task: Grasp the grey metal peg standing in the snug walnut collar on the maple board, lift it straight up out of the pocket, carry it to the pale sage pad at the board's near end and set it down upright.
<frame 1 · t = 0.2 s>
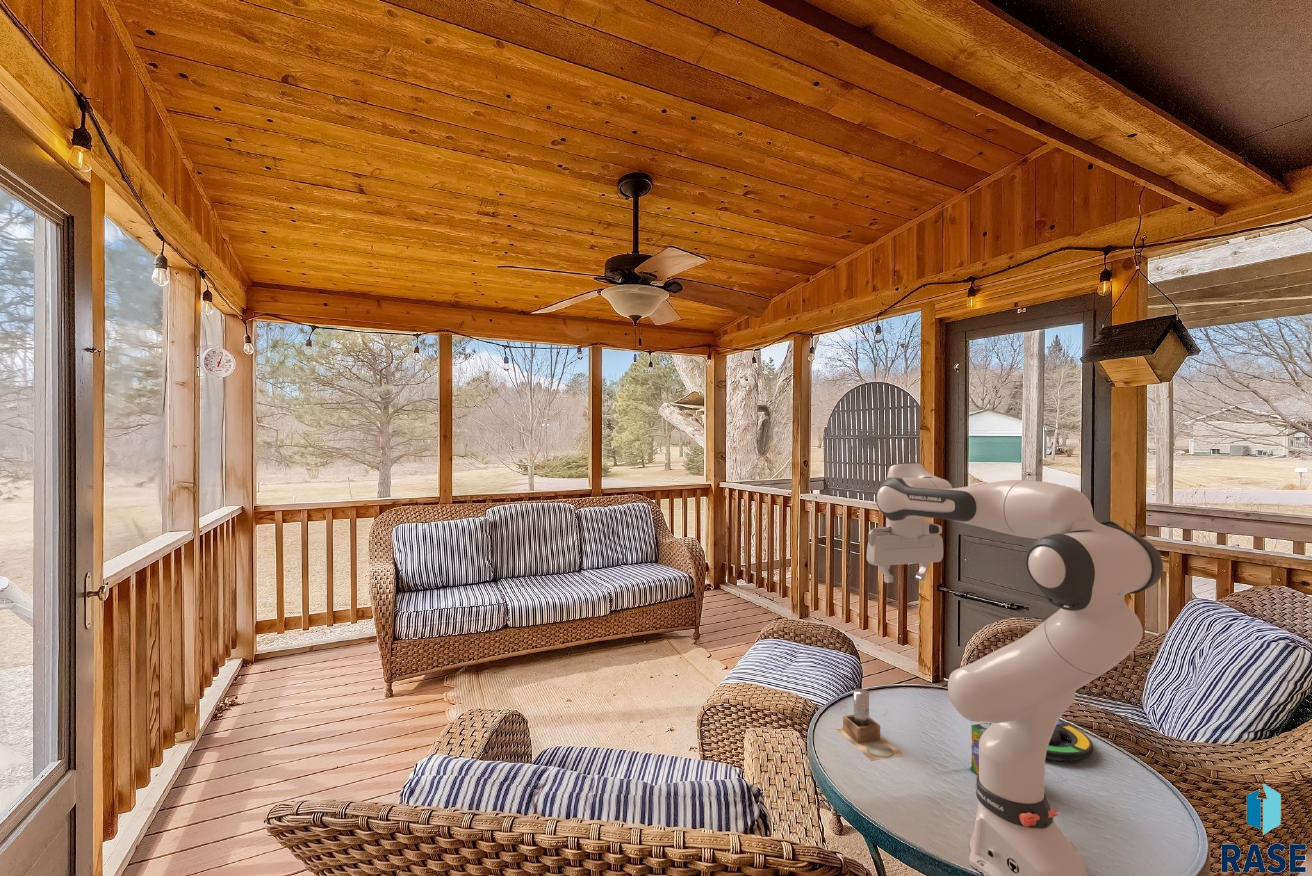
hand: (904, 581, 143), 47 cm above the table, fingers open, 8 cm apart
electronic game: (1040, 743, 155), on the table
peg: (861, 734, 157), point 1 cm above the table, touching pocket board
pocket board: (869, 745, 153), on the table
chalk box: (1000, 779, 139), on the table
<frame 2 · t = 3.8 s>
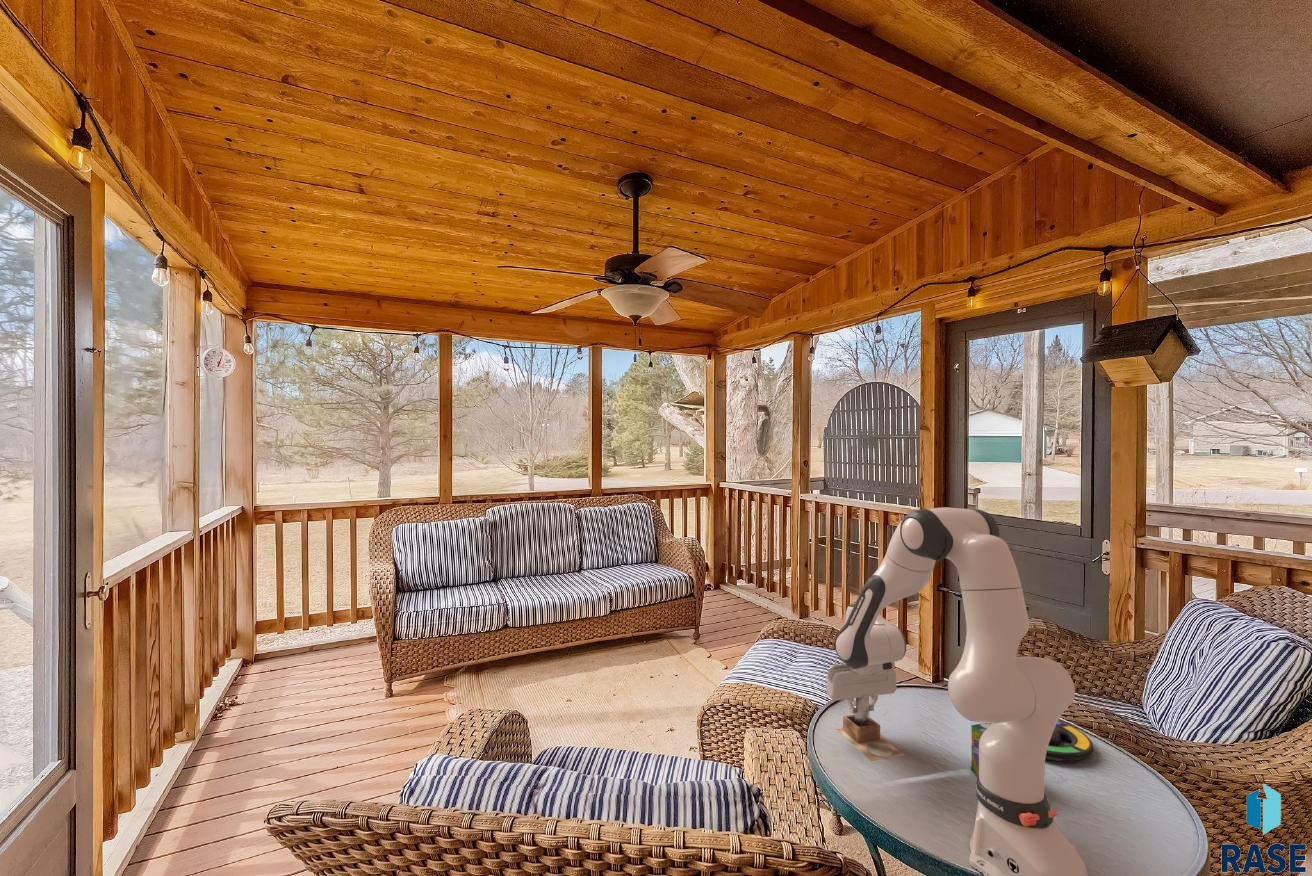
hand: (861, 711, 157), 8 cm above the table, fingers closed on peg, 4 cm apart
peg: (861, 734, 157), point 1 cm above the table, touching gripper, pocket board
everything else where it was.
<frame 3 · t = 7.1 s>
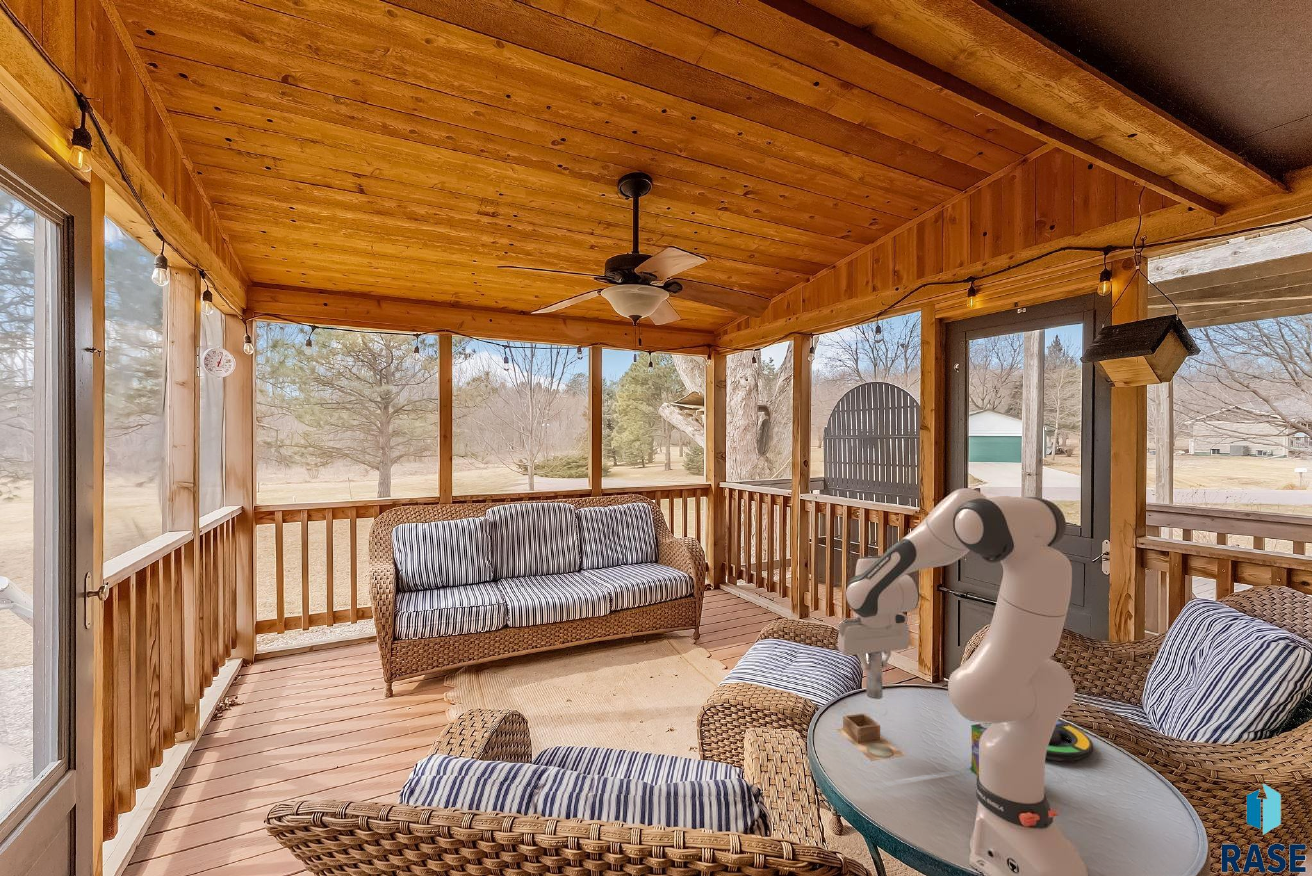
hand: (874, 667, 151), 22 cm above the table, fingers closed on peg, 4 cm apart
peg: (874, 695, 151), point 14 cm above the table, touching gripper
everything else where it was.
when the fingers open (9 cm above the table, at t = 10.5 s): peg stays where it is, resting on pocket board.
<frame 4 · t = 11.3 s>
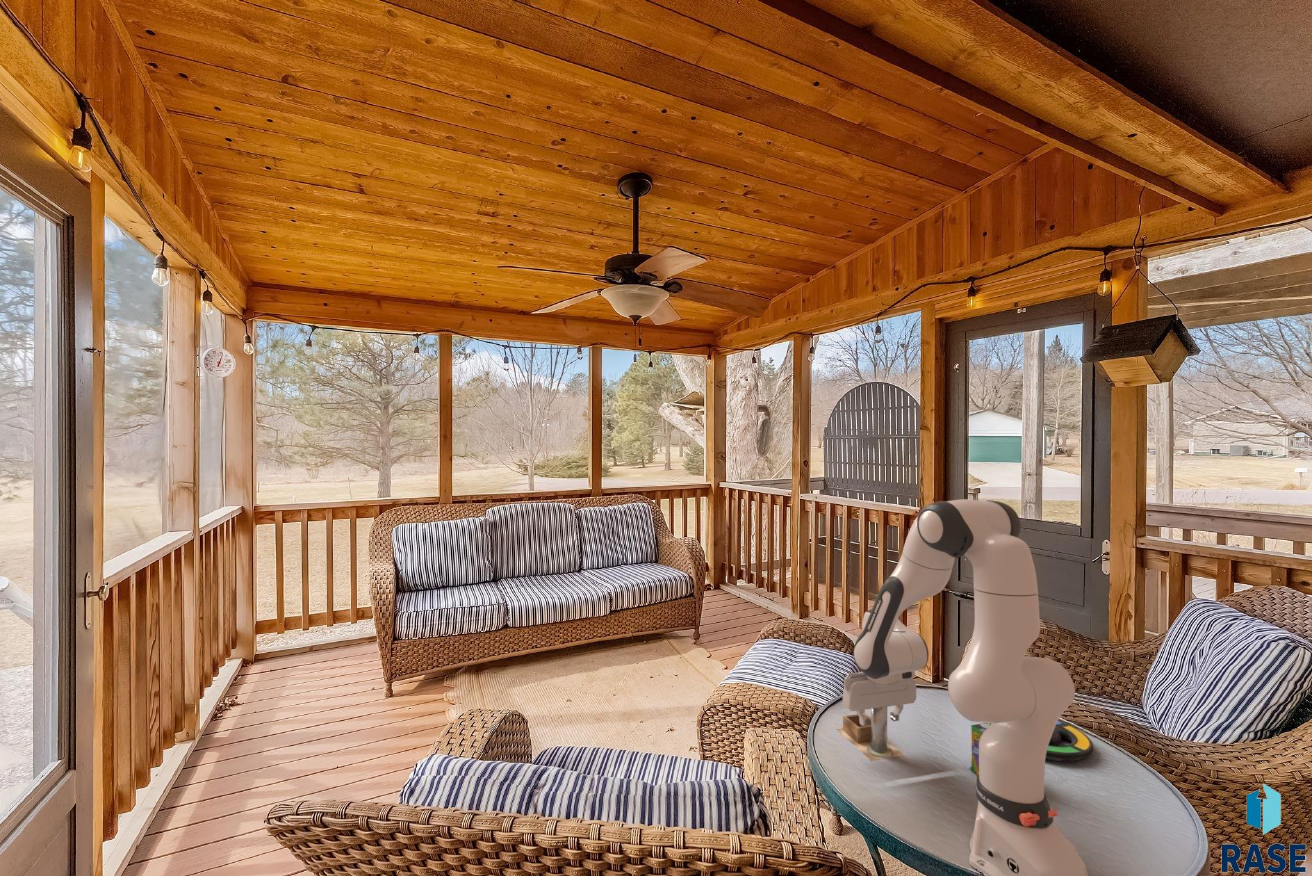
hand: (879, 722, 149), 8 cm above the table, fingers open, 8 cm apart
peg: (879, 748, 149), point 1 cm above the table, touching pocket board
everything else where it was.
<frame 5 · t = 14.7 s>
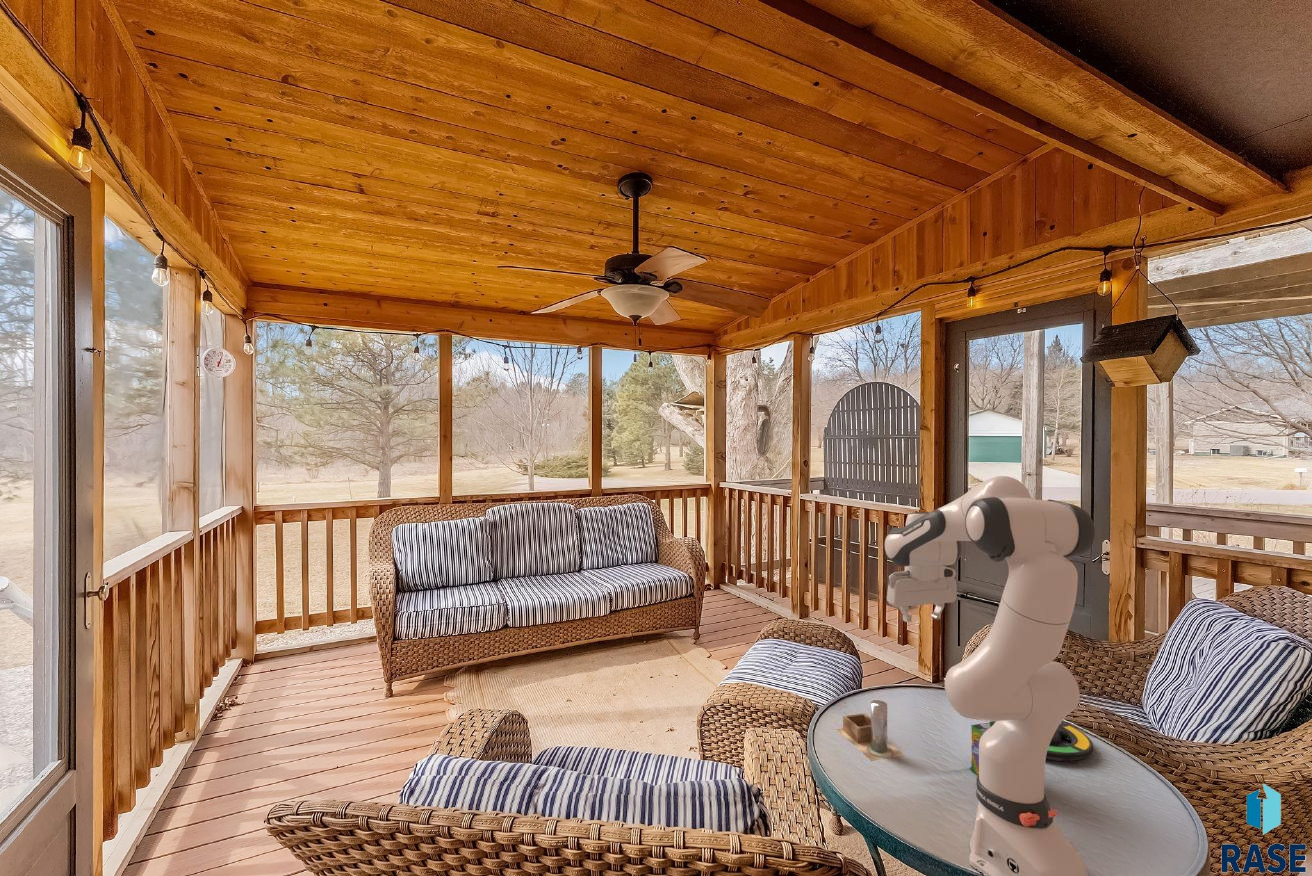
hand: (921, 619, 156), 33 cm above the table, fingers open, 8 cm apart
nothing on the table moved.
at the end: peg 0.2 cm from the target spot on the pocket board, point 1.3 cm above the pocket board's base; peg tilted 0°; the gripper is holding nothing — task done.
